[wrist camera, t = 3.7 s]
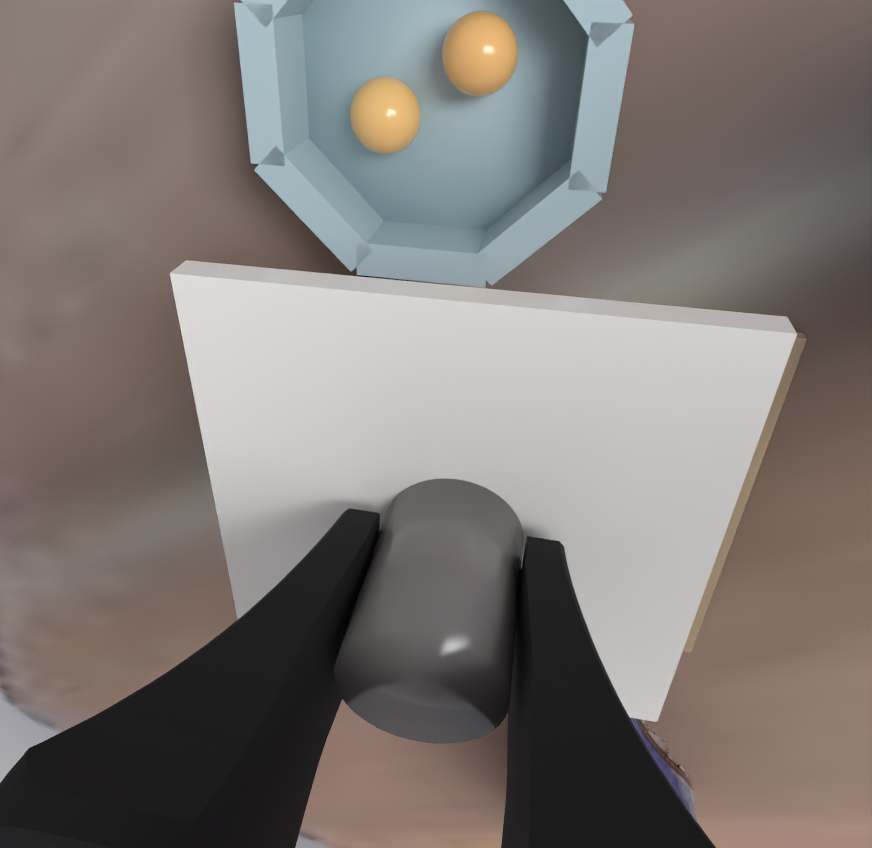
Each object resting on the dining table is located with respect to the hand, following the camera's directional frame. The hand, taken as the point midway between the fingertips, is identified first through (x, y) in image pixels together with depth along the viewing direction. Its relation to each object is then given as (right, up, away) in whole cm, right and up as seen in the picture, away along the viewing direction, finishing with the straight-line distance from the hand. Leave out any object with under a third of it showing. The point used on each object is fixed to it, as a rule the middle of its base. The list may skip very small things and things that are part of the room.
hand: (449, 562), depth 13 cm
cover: (0, +1, +1) cm, 1 cm away
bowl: (0, +12, +5) cm, 13 cm away
